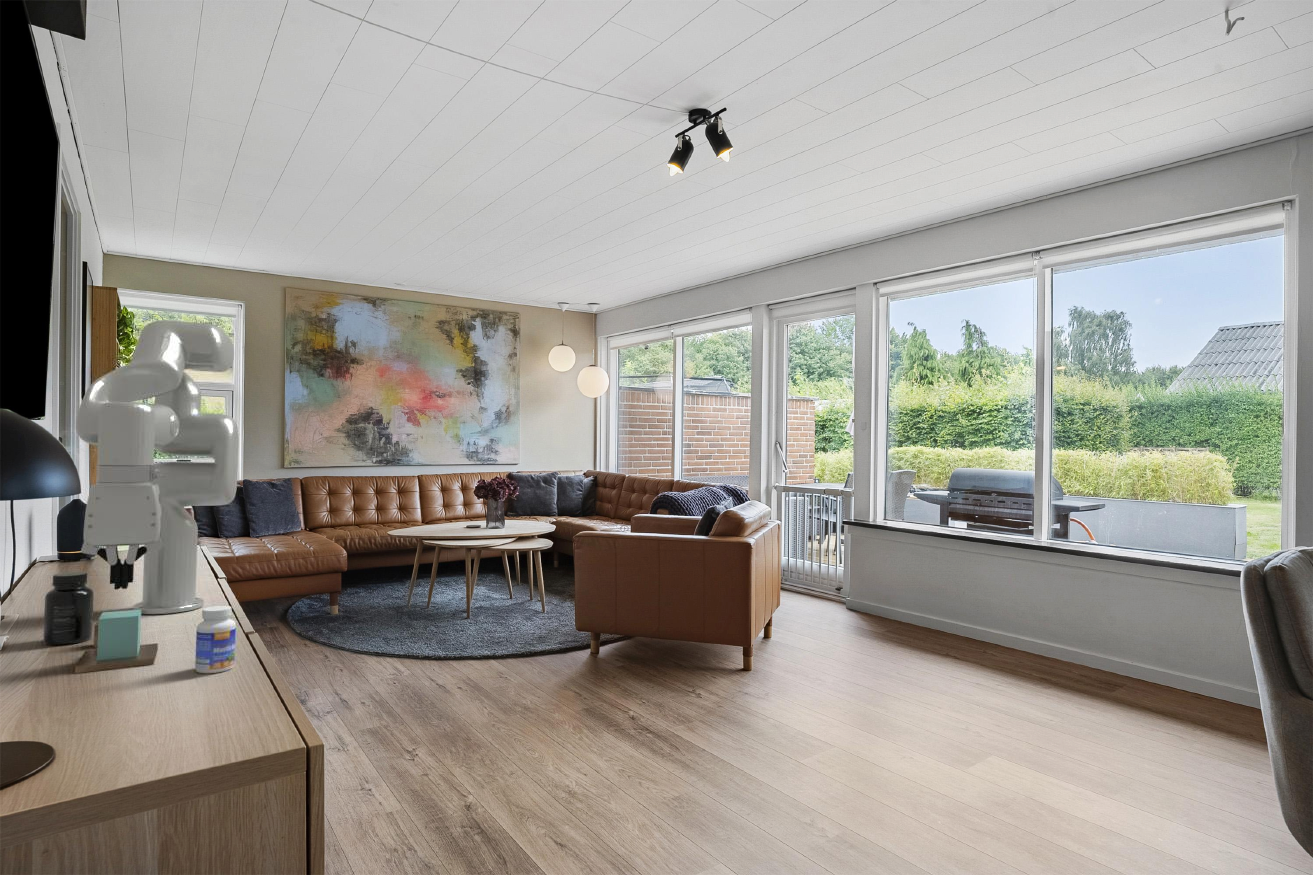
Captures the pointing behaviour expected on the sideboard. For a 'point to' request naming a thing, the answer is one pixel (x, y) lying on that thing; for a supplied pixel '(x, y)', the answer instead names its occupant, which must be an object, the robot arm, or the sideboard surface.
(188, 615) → the sideboard surface
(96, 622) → the tan cardboard cube
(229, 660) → the pill bottle
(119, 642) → the teal rectangular block
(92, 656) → the brown square base
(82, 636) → the supplement bottle
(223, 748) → the sideboard surface
